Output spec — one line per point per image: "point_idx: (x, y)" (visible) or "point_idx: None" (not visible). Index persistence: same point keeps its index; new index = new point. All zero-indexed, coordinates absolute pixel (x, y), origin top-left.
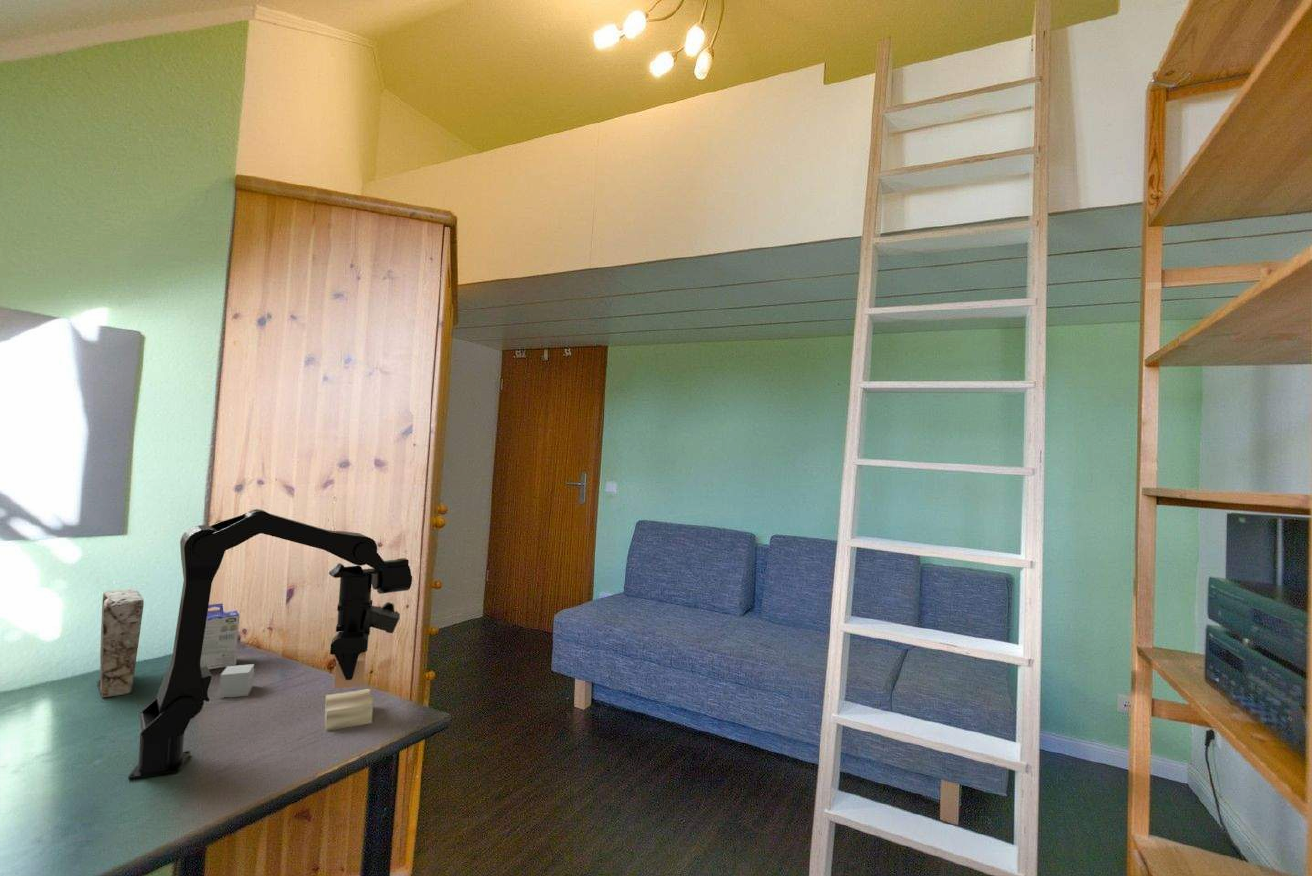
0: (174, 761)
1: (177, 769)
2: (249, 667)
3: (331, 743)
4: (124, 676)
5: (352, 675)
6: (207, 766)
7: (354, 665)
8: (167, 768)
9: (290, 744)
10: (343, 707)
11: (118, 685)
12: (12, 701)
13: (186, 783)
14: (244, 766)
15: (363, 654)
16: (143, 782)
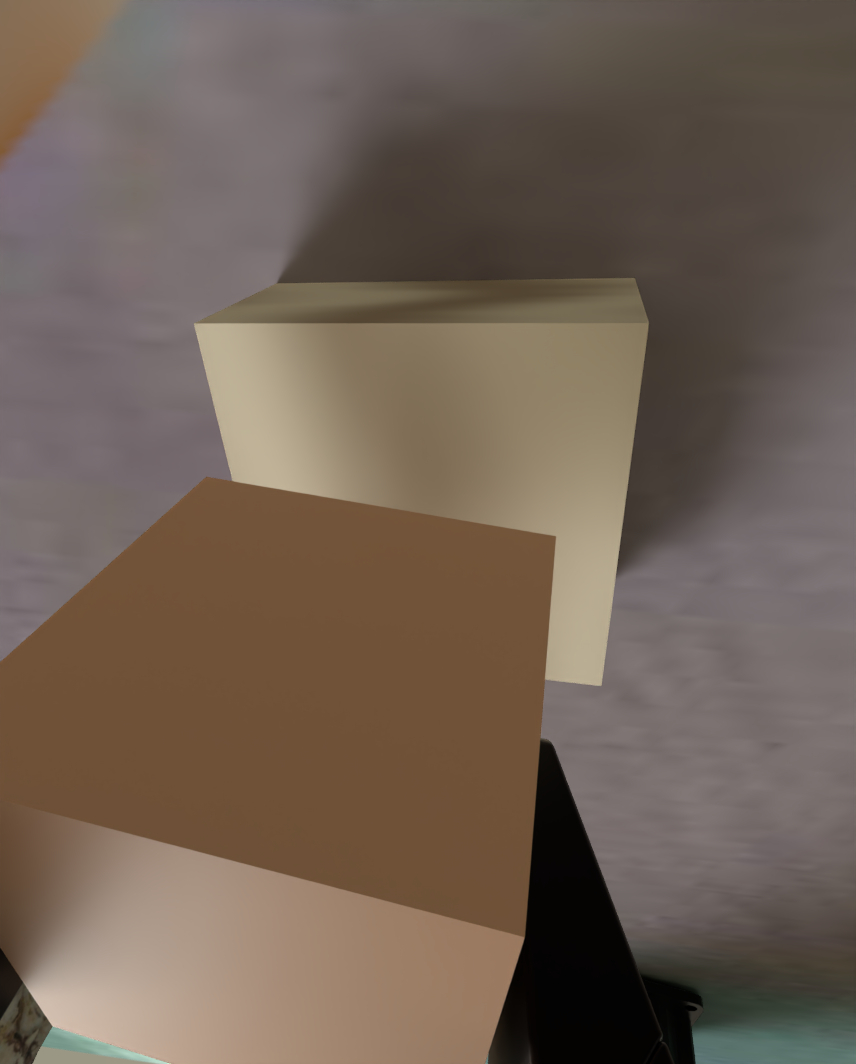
0: (663, 1027)
1: (698, 1007)
2: None
3: (833, 578)
4: (7, 1032)
5: (571, 798)
6: (699, 942)
7: (645, 1022)
8: (683, 1025)
9: (680, 738)
10: (586, 582)
11: (34, 1008)
12: (80, 1051)
13: (808, 990)
14: (803, 881)
15: (59, 844)
16: (701, 1033)
